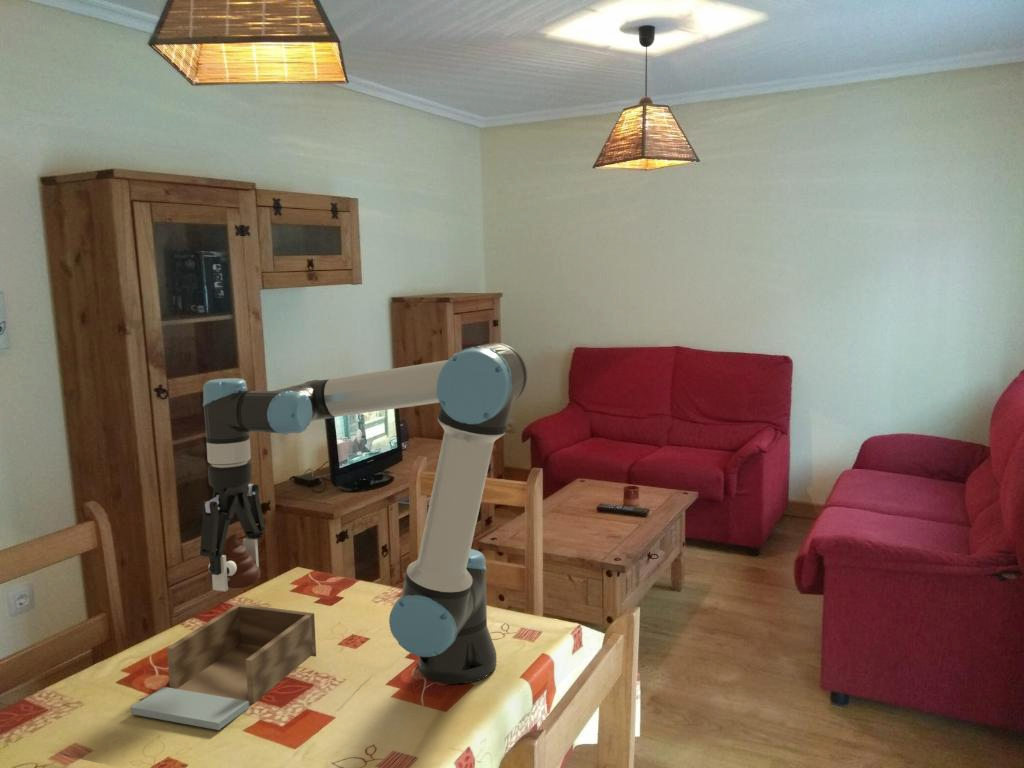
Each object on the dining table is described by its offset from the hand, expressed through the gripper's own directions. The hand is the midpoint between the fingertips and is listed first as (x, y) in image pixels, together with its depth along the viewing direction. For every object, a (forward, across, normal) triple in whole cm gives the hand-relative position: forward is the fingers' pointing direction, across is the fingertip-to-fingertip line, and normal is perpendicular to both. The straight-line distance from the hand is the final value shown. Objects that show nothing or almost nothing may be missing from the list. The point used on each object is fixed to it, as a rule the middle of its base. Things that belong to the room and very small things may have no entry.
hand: (236, 580), depth 147 cm
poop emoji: (+1, 0, -1) cm, 1 cm away
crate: (+19, -1, 0) cm, 19 cm away
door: (+18, +10, 0) cm, 21 cm away
